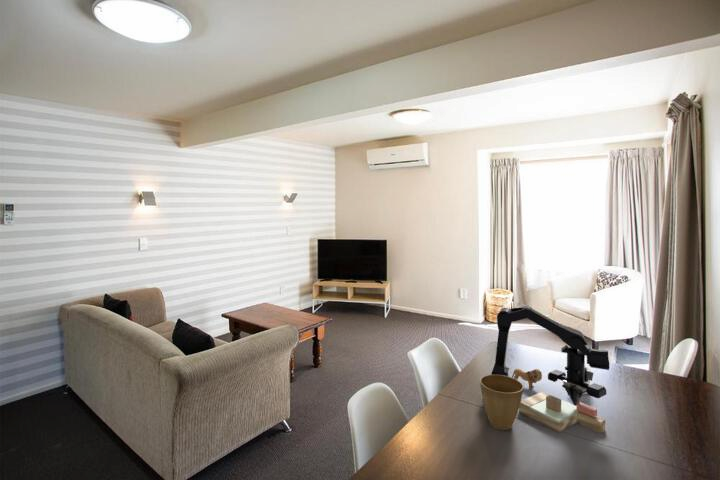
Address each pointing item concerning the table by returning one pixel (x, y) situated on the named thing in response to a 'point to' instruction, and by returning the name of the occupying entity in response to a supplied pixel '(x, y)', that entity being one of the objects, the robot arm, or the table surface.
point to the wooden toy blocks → (580, 417)
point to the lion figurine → (528, 376)
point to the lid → (555, 409)
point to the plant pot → (501, 399)
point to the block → (586, 409)
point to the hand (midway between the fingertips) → (575, 405)
